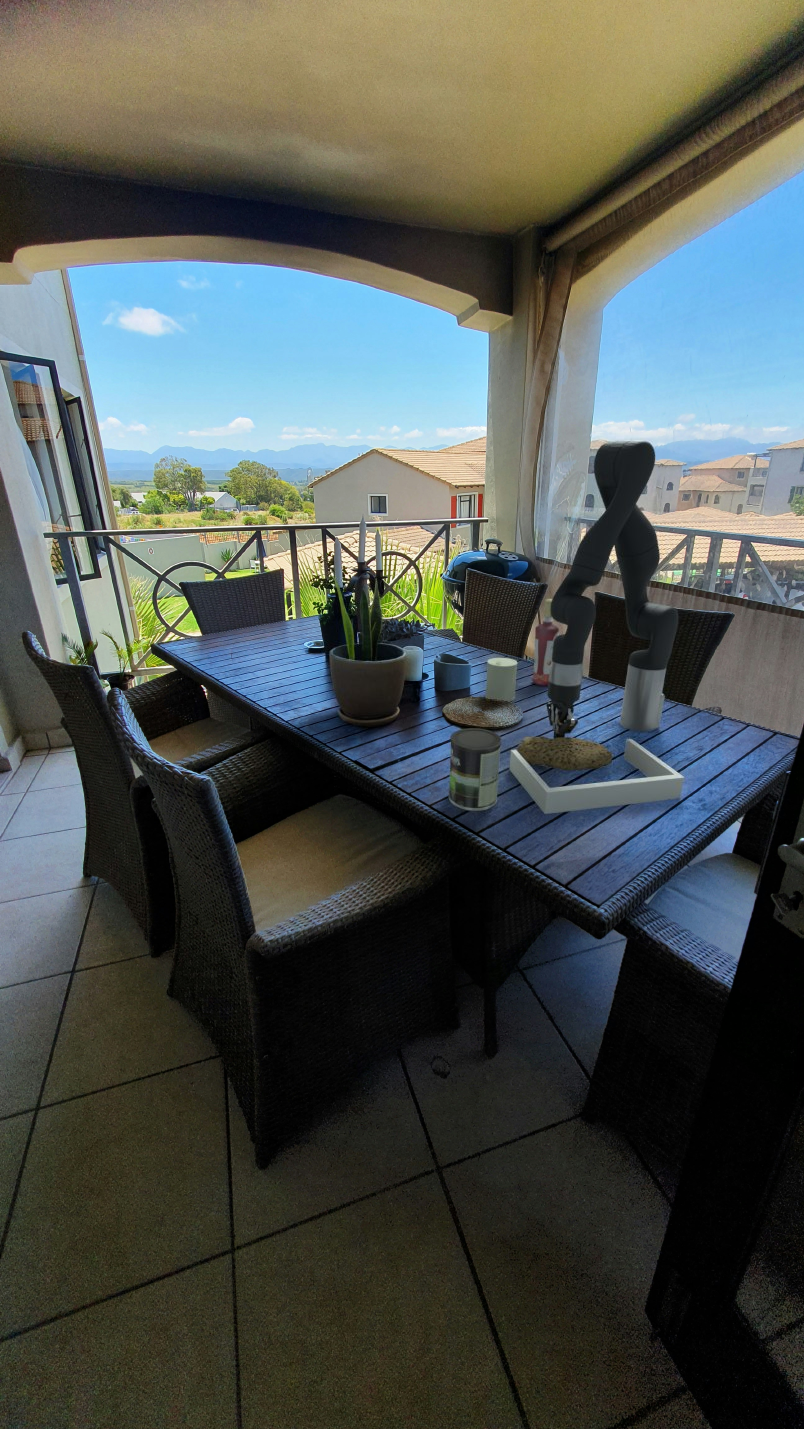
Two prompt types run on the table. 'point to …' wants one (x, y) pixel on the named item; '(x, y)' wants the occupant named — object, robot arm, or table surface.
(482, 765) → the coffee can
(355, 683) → the potted plant
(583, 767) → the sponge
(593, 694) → the table surface
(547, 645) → the liquor
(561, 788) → the box
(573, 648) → the robot arm
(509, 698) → the pillar candle
